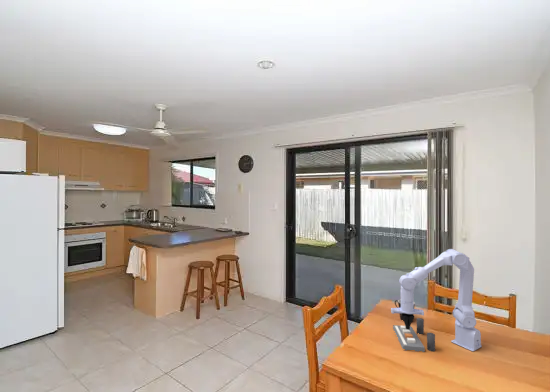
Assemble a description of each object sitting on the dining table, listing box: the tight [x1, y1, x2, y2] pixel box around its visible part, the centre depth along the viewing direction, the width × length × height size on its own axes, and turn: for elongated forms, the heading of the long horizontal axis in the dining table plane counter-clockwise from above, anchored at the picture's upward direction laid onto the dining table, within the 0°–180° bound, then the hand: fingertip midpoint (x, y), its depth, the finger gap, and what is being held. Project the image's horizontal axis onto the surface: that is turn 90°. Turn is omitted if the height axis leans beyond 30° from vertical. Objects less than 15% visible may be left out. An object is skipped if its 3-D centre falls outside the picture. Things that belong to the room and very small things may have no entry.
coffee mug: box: [394, 298, 416, 322], centre depth 157 cm, size 12×9×10 cm
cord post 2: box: [426, 332, 436, 353], centre depth 126 cm, size 3×3×7 cm
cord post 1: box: [416, 317, 425, 335], centre depth 140 cm, size 3×3×7 cm
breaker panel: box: [392, 324, 426, 353], centre depth 135 cm, size 20×9×3 cm, turn 169°
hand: (407, 328), depth 135 cm, fingers closed
